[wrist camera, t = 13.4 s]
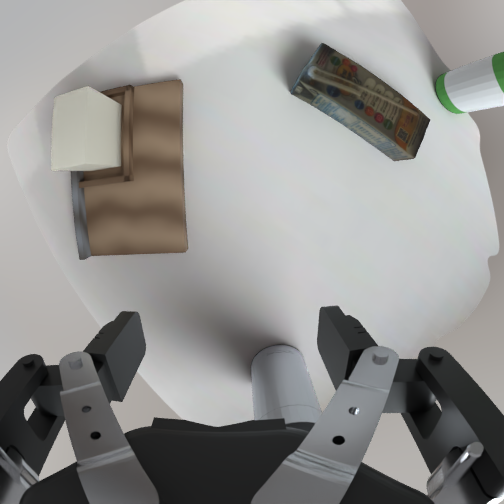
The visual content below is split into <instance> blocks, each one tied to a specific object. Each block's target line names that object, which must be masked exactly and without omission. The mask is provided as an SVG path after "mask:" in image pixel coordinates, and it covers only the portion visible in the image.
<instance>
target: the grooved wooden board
mask: <svg viewBox="0 0 504 504" xmlns="http://www.w3.org/2000/svg"><path fill="white" fill-rule="evenodd" d="M100 93H102V94H104V95H105V96H107V97H109V98H111V99H112V100H114V101H116V102H117V103H119V104H121V105H122V110H121V166H120V167H113V168H106V169H100V170H94V171H71V184H72V200H73V212H74V222H75V231H76V239H77V246H78V252H79V259H80V260H84V259H87V258H88V257H90V256H101V255H128V254H155V253H183V252H186V251H187V249H188V244H187V230H186V214H185V196H184V171H183V83H182V81H181V80H172V81H165V82H158V83H152V84H146V85H141V86H135V87H133V86H131V85H128V86H123V87H118V88H114V89H110V90H106V91H102V92H100Z"/></svg>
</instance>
